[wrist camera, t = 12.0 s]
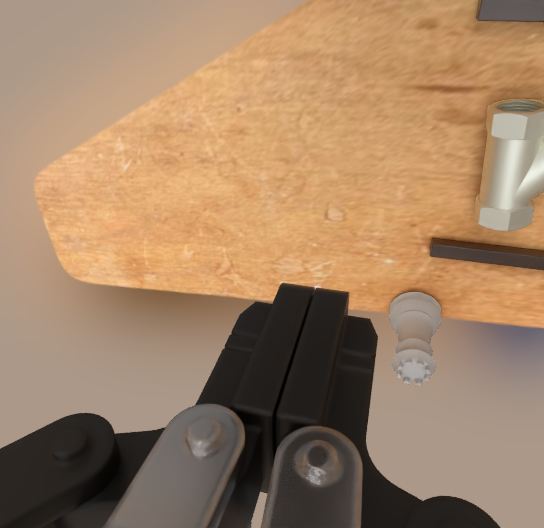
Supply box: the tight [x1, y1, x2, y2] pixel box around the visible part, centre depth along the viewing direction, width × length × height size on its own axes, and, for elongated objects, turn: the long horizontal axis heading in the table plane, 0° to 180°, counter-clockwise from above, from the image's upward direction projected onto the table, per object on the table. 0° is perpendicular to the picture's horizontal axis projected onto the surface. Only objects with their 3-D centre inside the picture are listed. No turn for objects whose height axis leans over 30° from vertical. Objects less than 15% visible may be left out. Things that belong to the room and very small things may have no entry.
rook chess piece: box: [389, 291, 442, 386], centre depth 40 cm, size 4×4×8 cm
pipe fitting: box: [474, 99, 544, 231], centre depth 32 cm, size 8×4×7 cm
